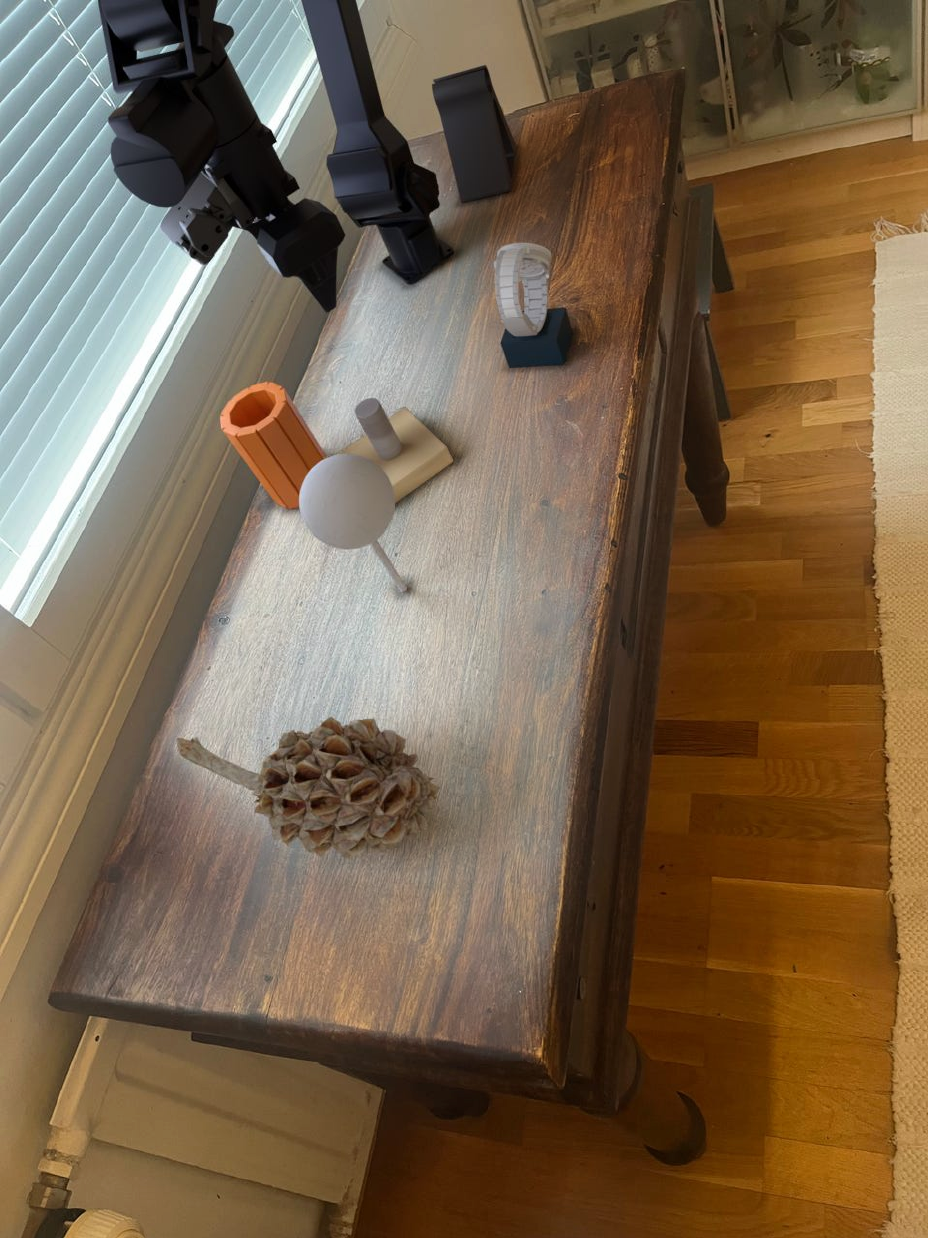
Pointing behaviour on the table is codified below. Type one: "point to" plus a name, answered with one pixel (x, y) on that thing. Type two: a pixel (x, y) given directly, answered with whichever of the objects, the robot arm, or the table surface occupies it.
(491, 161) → the phone stand
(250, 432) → the orange fluted tube
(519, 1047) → the table surface
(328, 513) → the lollipop
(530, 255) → the watch
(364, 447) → the peg on block
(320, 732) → the pine cone
